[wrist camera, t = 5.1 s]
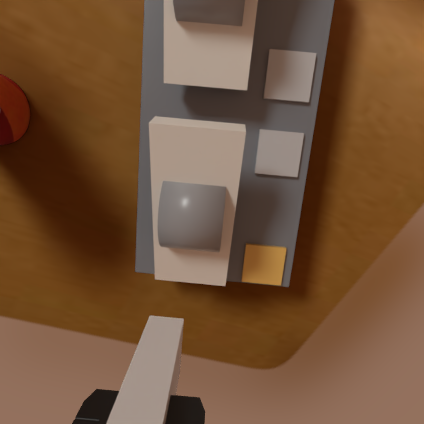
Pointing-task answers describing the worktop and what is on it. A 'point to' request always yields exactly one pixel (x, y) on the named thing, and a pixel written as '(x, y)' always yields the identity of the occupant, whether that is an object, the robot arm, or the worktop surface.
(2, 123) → the coffee cup
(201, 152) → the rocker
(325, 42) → the console
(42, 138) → the worktop surface
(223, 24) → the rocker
